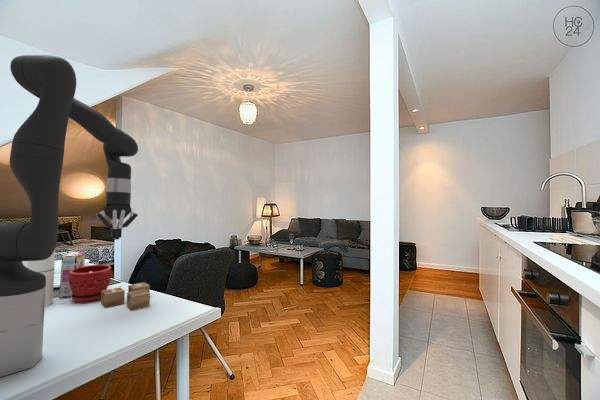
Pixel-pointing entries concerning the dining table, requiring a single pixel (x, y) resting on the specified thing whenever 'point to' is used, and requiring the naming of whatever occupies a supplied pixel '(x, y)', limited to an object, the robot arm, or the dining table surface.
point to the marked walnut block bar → (112, 297)
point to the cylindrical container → (48, 270)
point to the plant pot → (89, 282)
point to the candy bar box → (67, 265)
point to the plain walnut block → (138, 299)
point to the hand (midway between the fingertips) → (116, 239)
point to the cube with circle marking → (138, 287)
